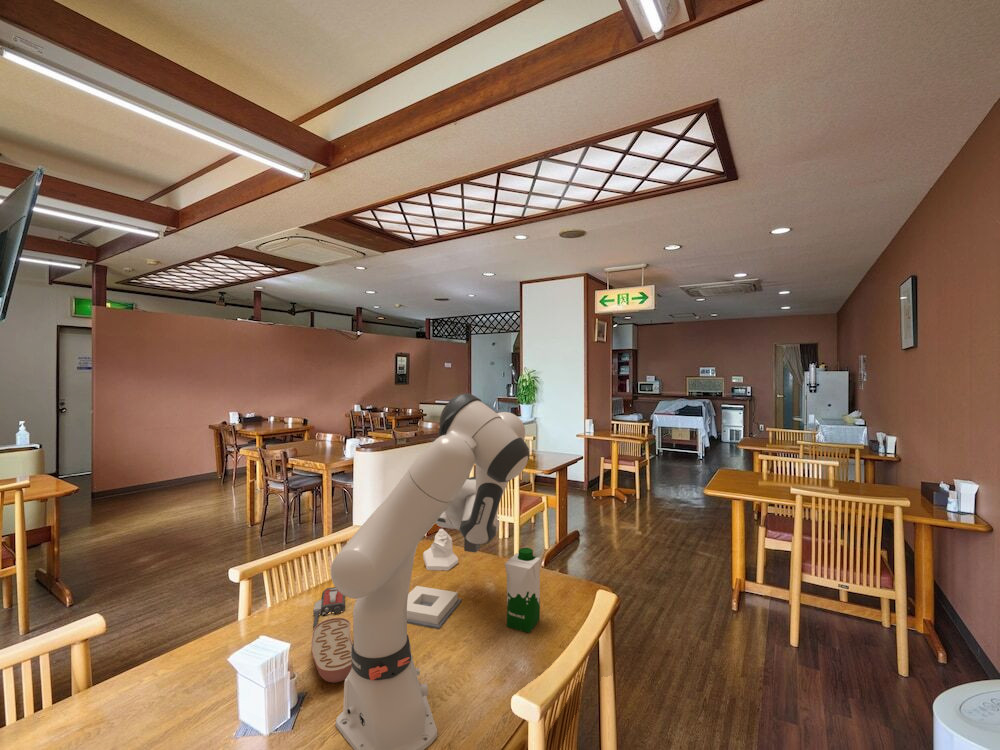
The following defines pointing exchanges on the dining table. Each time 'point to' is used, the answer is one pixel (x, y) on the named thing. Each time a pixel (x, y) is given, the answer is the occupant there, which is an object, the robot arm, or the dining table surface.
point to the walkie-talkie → (329, 603)
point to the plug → (470, 546)
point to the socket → (430, 606)
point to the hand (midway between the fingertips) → (472, 532)
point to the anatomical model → (332, 649)
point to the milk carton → (523, 590)
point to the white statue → (440, 553)
